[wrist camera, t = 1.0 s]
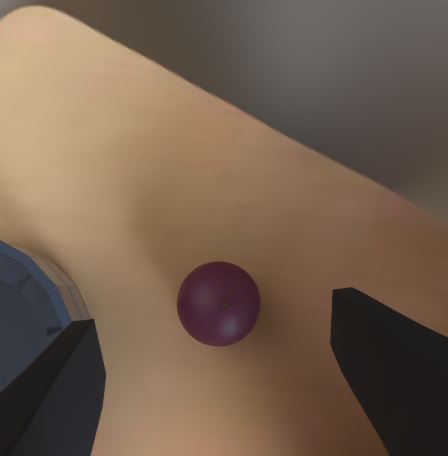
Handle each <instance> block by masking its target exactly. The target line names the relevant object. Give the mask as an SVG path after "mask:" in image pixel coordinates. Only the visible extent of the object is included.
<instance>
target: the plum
mask: <svg viewBox="0 0 448 456" xmlns="http://www.w3.org/2000/svg"><path fill="white" fill-rule="evenodd" d="M260 304H261V303H260V295H259V291H258V288H257V286H256V284H255V282H254V280H253V279H252V278H251V276H250V275H249V274H248V273H247V272H246V271H245V270H243V269H242V268H240V267H239V266H237V265H234V264H232V263H228V262H220V261H219V262H210V263H206V264H203V265H201V266H199V267H197V268H196V269H194V270H193V271H192V272H191V273H190V274H189V275H188V276H187V277H186V278H185V280H184V281H183V283H182V285H181V287H180V290H179V293H178V297H177V310H178V315H179V318H180V321H181V323H182V325H183V327H184V328H185V330H186V331H187V332H188V333H189V334H190V335H191V336H192V337H193V338H195V339H196V340H198V341H199V342H201V343H203V344H206V345H210V346H227V345H231V344H234V343H236V342H238V341H240V340H241V339H243V338H244V337H245V336H246V335H248V334H249V333H250V331H251V330H252V329H253V327H254V326H255V324H256V322H257V320H258V317H259V313H260Z"/></svg>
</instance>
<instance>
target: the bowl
mask: <svg viewBox="0 0 448 456" xmlns="http://www.w3.org/2000/svg"><path fill="white" fill-rule="evenodd" d="M87 319H91V318H90V315H89V313H88V311H87V309H86V306H85V304H84V302H83V299H82V297H81V295H80V292H79V290H78V288H77V287H76V285H75V284H74V283H73V282H72V281H71V280H70V279H69V278H68V277H67V275H66V274H65V273H64V272H63V271H62V270H61V269H60V268H59V267H58V266H57V265H56V263H54V262H53V261H51V260H50V259H48V258H46V257H44V256H42V255H40V254H39V253H37V252H35V251H33V250H31V249H29V248H28V247H26V246H24V245H21V244H17V243H14V242H11V241H8V240H4V239H1V238H0V392H1V391H2V390H3V389H4V388H5V387H7V386H8V385H9V384H10V383H11V382H12V381H13V380H14V379H15V378H16V377H17V376H18V375H20V374H21V373H22V372H23V371H24V370H25V369H26V368H27V367H28V366H29V365H30V364H31V363H32V362H33V361H34V360H35V359H36V358H37V357H38V356H39V355H40V354H41V353H42V352H43V351H44V350H45V349H46V348H47V347H48V346H49V345H50V344H51V343H52V342H53V341H54V340H55V338H56V337H57V336H58V335H59V334H60V333H61V332H62V331H63V330H64V329H65V328H66V327H67V326H68V325H69V324H70V323H71V322H72V321H79V320H87Z"/></svg>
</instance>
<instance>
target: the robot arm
mask: <svg viewBox="0 0 448 456" xmlns="http://www.w3.org/2000/svg"><path fill="white" fill-rule="evenodd" d="M330 345H331V347H332V350H333V352H334V355H335V357H336V360H337V362H338V364H339V367H340V369H341V371H342V373H343V375H344V377H345V379H346V381H347V382H348V384H349V386H350V388H351V389H352V391H353V393H354V394H355V396H356V398H357V400H358V401H359V403H360V405H361V406H362V408H363V410H364V411H365V413H366V415H367V417H368V418H369V420H370V422H371V423H372V425H373V427H374V428H375V430H376V432H377V433H378V435H379V437H380V439H381V440H382V442H383V444H384V446H385V448H386V450H387V452H388V454H389V456H448V337H446V336H443V335H441V334H439V333H437V332H435V331H433V330H431V329H429V328H427V327H425V326H423V325H421V324H419V323H417V322H415V321H413V320H411V319H409V318H407V317H406V316H404V315H402V314H400V313H398V312H396V311H395V310H393V309H391V308H389V307H387V306H386V305H384V304H382V303H380V302H379V301H377V300H375V299H373V298H372V297H370V296H368V295H366V294H364V293H362V292H361V291H359V290H357V289H354V288H352V287H351V288H342V289H334V290H333V295H332V317H331V338H330ZM105 380H106V372H105V367H104V363H103V358H102V354H101V349H100V345H99V340H98V336H97V331H96V327H95V322H94V319H87V320H79V321H72V322H71V323H70V324H69V325H68V326H67V327H66V328H65V329H64V330H63V331H62V332H61V333H60V334H59V335H58V336H57V337H56V338H55V340H54V341H53V342H52V343H51V344H50V345H49V346H48V347H47V348H46V349H45V350H44V351H43V352H42V353H41V354H40V355H39V356H38V357H37V358H36V359H35V360H34V361H33V362H32V363H31V364H30V365H29V366H28V367H27V368H26V369H25V370H24V371H23V372H22V373H21V374H20V375H18V376H17V377H16V378H15V379H14V380H13V381H12V382H11V383H10V384H9V385H8V386H7V387H5V388H4V389H3V390H2V391H1V392H0V456H90V455H91V451H92V447H93V443H94V439H95V435H96V431H97V427H98V423H99V419H100V415H101V411H102V406H103V398H104V389H105Z"/></svg>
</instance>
